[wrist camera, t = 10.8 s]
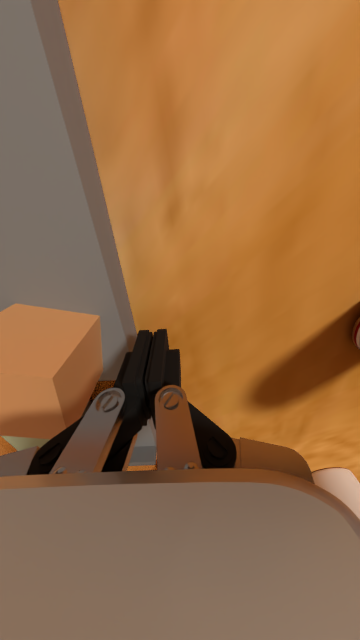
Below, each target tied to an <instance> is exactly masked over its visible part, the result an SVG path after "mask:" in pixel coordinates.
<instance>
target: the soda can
mask: <svg viewBox="0 0 360 640" xmlns="http://www.w3.org/2000/svg"><path fill="white" fill-rule="evenodd" d="M352 340H353V343H354V344H355V346H356V347H357V348H358V349H359V350H360V316H359V318H358V319H357V321H356V323H355V325H354V328H353V331H352Z"/></svg>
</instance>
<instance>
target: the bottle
mask: <svg viewBox="0 0 360 640" xmlns="http://www.w3.org/2000/svg"><path fill="white" fill-rule="evenodd" d="M311 474H312V477H313V480H314V483H315V485H317V486H319V487H321V488H323V489H324V490H326V491H328V492H330V493H331V494H333V495H334V496H335V497H337V498H338V499H340V500H341V501H342V502H343V503H344V504H346V505H347V506H348V507H349V508H350V509H351V510H352V511H353V513H354V514H355V515H356V516H357V517H358V518H359V519H360V483H359V482H358V480H357V479H356V477H355V476H354V475H353V473H352V472H351V471H350V470H348V469H345V468H328V469H322V470H319V471H315V472H313V473H311Z"/></svg>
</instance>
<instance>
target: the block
mask: <svg viewBox="0 0 360 640" xmlns="http://www.w3.org/2000/svg"><path fill="white" fill-rule="evenodd" d="M102 372H103V359H102V342H101V325H100V316H99V315H92V314H85V313H78V312H71V311H64V310H57V309H51V308H44V307H37V306H30V305H23V304H16V303H15V304H14V305H12V306H10V307H8V308H6V309H5V310H3V311H1V312H0V436H13V437H26V438H39V439H52V438H53V437H55V436H56V435H58V434H59V433H60V432H62V431H63V430H65V429H66V428H67V427H69V426H70V425H72V424H73V423H74V422H76V421H77V420H79V419H80V418H81V416H82V414H83V412H84V410H85V408H86V405H87V403H88V401H89V399H90V397H91V395H92V393H93V391H94V389H95V387H96V384H97V382H98V380H99V378H100V376H101V374H102Z"/></svg>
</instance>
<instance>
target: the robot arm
mask: <svg viewBox="0 0 360 640" xmlns="http://www.w3.org/2000/svg"><path fill="white" fill-rule="evenodd" d="M151 416H152V420H153V424H154V428H155V429H156V443H157V467H158V470H149V471H127V468H128V465H129V462H130V459H131V456H132V452H133V449H134V446H135V443H136V440H137V435H138V434H137V433H138V432H139V431H140V430H141V429H142V426H147V420H148V419H151ZM0 640H360V519H359V518H358V517H357V516H356V515H355V514H354V513H353V511H352V510H351V509H350V508H349V507H348V506H347V505H346V504H344V503H343V502H342V501H341V500H340V499H338V498H337V497H335V496H334V495H333V494H331V493H330V492H328V491H326V490H324V489H323V488H321V487H319V486H317V485H315V483H314V480H313V477H312V474H311V470H310V468H309V466H308V464H307V462H306V461H305V460H304V458H303V457H302V456H301V455H300V454H299V453H297V452H296V451H295V450H293V449H290V448H287V447H283V446H278V445H274V444H269V443H264V442H259V441H255V440H250V439H245V438H241V437H240V439H235V438H231V437H230V436H229V435H228V434H227V433H226V432H224V431H223V430H222V429H221V428H219V427H218V426H217V425H216V424H215V423H213V422H212V421H211V420H210V419H209V418H207V417H206V416H205V415H204V414H203V413H201V412H200V411H199V410H198V409H197V408H195V407H194V406H193V405H192V404H190V403H189V402H188V401H187V397H186V394H185V391H184V390H183V389H182V388H181V368H180V352H179V349H174V350H169V345H168V337H167V330H166V329H158V330H157V332H154V335H153V334H152V332H149V330H140V331H139V333H138V336H137V339H136V342H135V345H134V348H133V351H132V352H127V353H126V354H125V357H124V360H123V363H122V365H121V368H120V371H119V373H118V376H117V379H116V381H115V384H114V387H113V388H109V389H106V390H104V391H102V392H101V393H100V394H99V395H97V397H96V398H95V399H94V401H93V402H92V404H91V406H90V407H89V409H88V411H87V412H86V414H85V415H84V416H83V417H81V418H80V419H79V420H77V421H76V422H74V423H73V424H72V425H70V426H69V427H67V428H66V429H65V430H63V431H62V432H60V433H59V434H58V435H56V436H55V437H53V438H52V439H50V440H49V441H48V442H46V443H45V444H44V445H43V446H42V447H40V448H39V447H38V446H35V447H31V448H27V449H24V450H20V451H17V452H13V453H9V454H6V455H2V456H0Z"/></svg>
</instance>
